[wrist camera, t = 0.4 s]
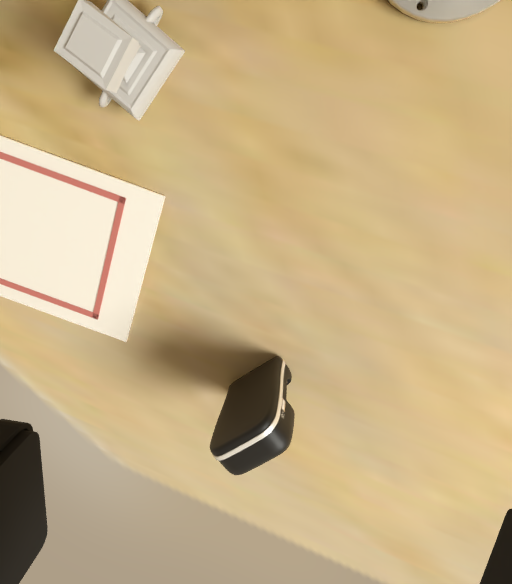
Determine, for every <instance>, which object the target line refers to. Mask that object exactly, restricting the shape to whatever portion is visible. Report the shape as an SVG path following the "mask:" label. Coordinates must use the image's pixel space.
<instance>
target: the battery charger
mask: <svg viewBox="0 0 512 584" xmlns="http://www.w3.org/2000/svg"><path fill="white" fill-rule="evenodd" d="M290 382H291V372H290V370H289V368H288V367H287V365H286V364H285V361H284V360H283V359H281V358H280V357H279V356H277V357H275V358H273V359H271V360H270V361H268V362H266V363H265V364H263V365H261V366H260V367H258V368H256V369H255V370H253V371H251V372H250V373H248V374H246V375H245V376H243V377H242V378H240V379H238V380H237V381H235V382H234V383H232V384H231V385H230V386H229V390H228V393H227V396H226V399H225V402H224V405H223V407H222V410H221V413H220V415H219V418H218V421H217V424H216V426H215V429H214V433H213V436H212V439H211V443H210V450H211V452H212V454H213V456H214V458H215V459H216V460H218V461H219V462H220V463H221V464H222V465H223V466H224V467H225V468H226V470H228V471H229V472H230V473H232V474H234V475H241V474H244V473H246V472H248V471H250V470H252V469H254V468H256V467H258V466H260V465H262V464H264V463H265V462H267V461H269V460H271V459H273V458H275V457H276V456H278V455H280V454H281V453H283V452H284V451H285V450H286V449H287V448H288V447H289V445H290V442H291V439H292V433H293V426H294V410H293V408H292V407H291V405H290V404H289V403H288V402H287V400H286V390H287V385H288V384H289V383H290Z"/></svg>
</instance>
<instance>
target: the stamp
mask: <svg viewBox="0 0 512 584" xmlns="http://www.w3.org/2000/svg"><path fill="white" fill-rule="evenodd" d="M162 14H163V10H162V8H161V7H160V6H156V7H155V8H154V9H153V10H151V11H150V13H149V15H148V16H147V17H146V16H145V15H144V14H143V13H142V12H141V11H139V10H138V9H137V8H136V7H135V6H134V5H133V4H131V3H130V2H129V1H128V0H107V2H106V4H105V6H104V7H103V9H102V11H101V10H100V9H99V8H98V7H96V6H95V5H94V4H93V3H92V2H90V1H87V0H78V2H77V4H76V6H75V8H74V10H73V12H72V14H71V16H70V18H69V20H68V22H67V24H66V26H65V28H64V30H63V32H62V34H61V36H60V38H59V40H58V42H57V44H56V46H55V48H54V51H55V52H56V53H57V54H59V55H60V56H61V57H63V58H64V59H65V60H67V61H68V62H69V63H71V64H72V65H73V66H74V67H75V68H76V69H77V70H79V71H80V72H81V73H82V74H83V75H85V76H86V77H87V78H88V79H89V80H90V81H92V82H93V83H94V84H95V85H96V86H98V87H99V88H100V89H101V90H102V94H101V96H100V98H99V106H100V107H106V106H107V105H108V104H109V103H110V101H111V100H112V99H113V100H114V101H115V102H117V103H118V104H119V105H120V106H121V107H122V108H124V109H125V110H126V111H127V112H128V113H130V114H131V115H132V116H133V117H134V118H135V119H137V120H139V121H140V119H141V118H142V116H143V114H144V113H145V111H146V110H147V108H148V107H149V105H150V104H151V102H152V101H153V99H154V98H155V96H156V95H157V93H158V92H159V90H160V89H161V87H162V86H163V84H164V83H165V81H166V79H167V78H168V76H169V75H170V73H171V72H172V70H173V69H174V67H175V66H176V64H177V63H178V61H179V60H180V58H181V57H182V55H183V54H184V52H185V50H183V49H182V48H181V47H180V46H179V45H178V44H177V43H176V42H174V41H173V40H172V39H171V38H170V37H169V36H168V35H167V34H165V33H164V32H163V31H162V30H161V29H160V28H159V27H157V25H158V23H159V21H160V19H161V17H162Z"/></svg>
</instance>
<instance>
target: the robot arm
mask: <svg viewBox="0 0 512 584" xmlns="http://www.w3.org/2000/svg"><path fill="white" fill-rule="evenodd" d="M388 1H389V2H390V4H391V5H393V6H394V7H395V8H397V9H398V10H399V11H401V12H402V13H404V14H406V15H408V16H410V17H412V18H415V19H417V20H421V21H426V22H431V23H451V22H455V21H459V20H464V19H467V18H470V17H472V16H474V15H477V14H479V13H481V12H483V11H485V10H486V9H488V8H490V7H491V6H493V5H495V4H496V3H497V2H499V1H500V0H388ZM418 3H421V4H422V6H423V8H422V10H418V9H417V4H418ZM46 519H47V518H46V507H45V497H44V485H43V473H42V462H41V450H40V440H39V435H38V433H37V432H33V428H32V426H31V425H30V424H29V423H24V422H18V421H11V420H5V419H1V420H0V584H19V583H20V581H21V579H22V578H23V577H24V575H25V573H26V572H27V570H28V569H29V567H30V566H31V564H32V563H33V561H34V559H35V558H36V556H37V555H38V553H39V552H40V550H41V548H42V547H43V544H44V542H45V539H46V536H47V520H46ZM480 584H512V509H509V510H508V511H507V513H506V516H505V518H504V521H503V524H502V526H501V529H500V532H499V534H498V537H497V540H496V542H495V545H494V547H493V550H492V553H491V555H490V558H489V561H488V563H487V566H486V569H485V571H484V574H483V577H482V579H481V582H480Z"/></svg>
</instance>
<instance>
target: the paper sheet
mask: <svg viewBox="0 0 512 584" xmlns="http://www.w3.org/2000/svg"><path fill="white" fill-rule="evenodd" d="M164 199H165V196H164V195H162V194H159V193H156V192H153V191H151V190H148V189H145V188H143V187H140V186H137V185H135V184H132V183H129V182H126V181H124V180H121V179H118V178H116V177H113V176H110V175H107V174H105V173H102V172H99V171H97V170H94V169H91V168H88V167H86V166H83V165H80V164H78V163H75V162H72V161H69V160H67V159H64V158H61V157H59V156H56V155H53V154H50V153H48V152H45V151H42V150H40V149H37V148H34V147H31V146H29V145H26V144H23V143H21V142H18V141H15V140H12V139H10V138H7V137H4V136H2V135H0V296H2V297H4V298H7V299H10V300H13V301H15V302H18V303H21V304H24V305H26V306H29V307H32V308H34V309H37V310H40V311H43V312H45V313H48V314H51V315H54V316H56V317H59V318H62V319H64V320H67V321H70V322H73V323H75V324H78V325H81V326H84V327H86V328H89V329H92V330H94V331H97V332H100V333H103V334H105V335H108V336H111V337H114V338H116V339H119V340H122V341H124V342H126V341H127V339H128V335H129V332H130V328H131V324H132V320H133V316H134V313H135V309H136V305H137V301H138V298H139V294H140V290H141V286H142V282H143V279H144V275H145V271H146V267H147V264H148V260H149V256H150V252H151V248H152V245H153V241H154V237H155V233H156V230H157V226H158V222H159V218H160V214H161V211H162V207H163V203H164Z"/></svg>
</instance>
